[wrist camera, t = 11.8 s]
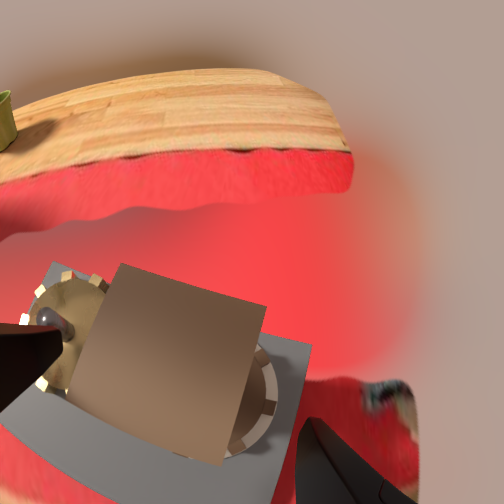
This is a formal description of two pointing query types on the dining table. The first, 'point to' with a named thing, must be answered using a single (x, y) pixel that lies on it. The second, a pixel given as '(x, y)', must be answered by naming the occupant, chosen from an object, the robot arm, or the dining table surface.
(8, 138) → the plant pot
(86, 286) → the brass gear
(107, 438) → the gear board
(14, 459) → the dining table surface
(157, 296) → the walnut gear
